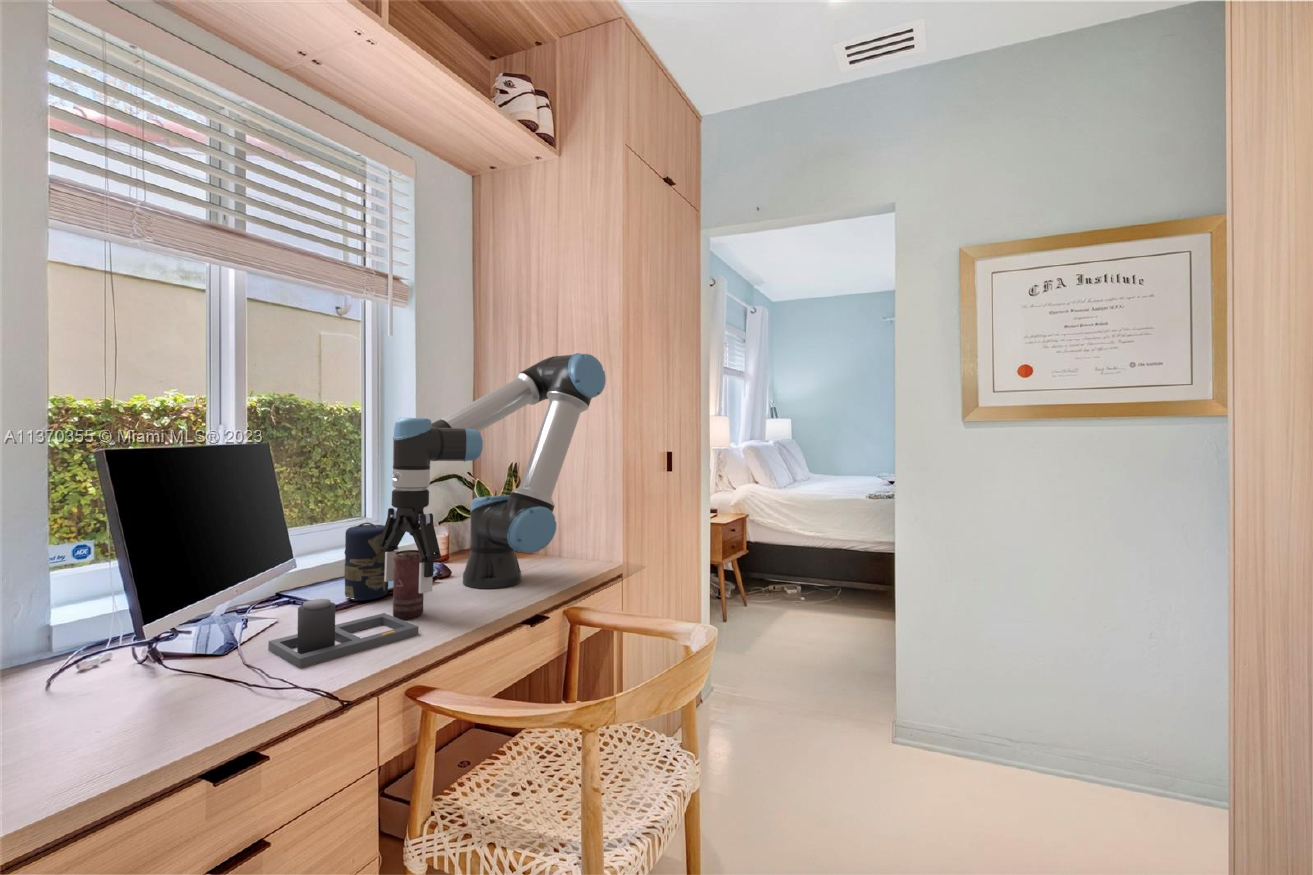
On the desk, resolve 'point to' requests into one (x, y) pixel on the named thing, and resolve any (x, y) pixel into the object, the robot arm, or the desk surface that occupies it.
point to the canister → (364, 562)
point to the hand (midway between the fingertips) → (407, 586)
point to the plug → (316, 625)
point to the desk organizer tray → (345, 640)
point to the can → (407, 585)
